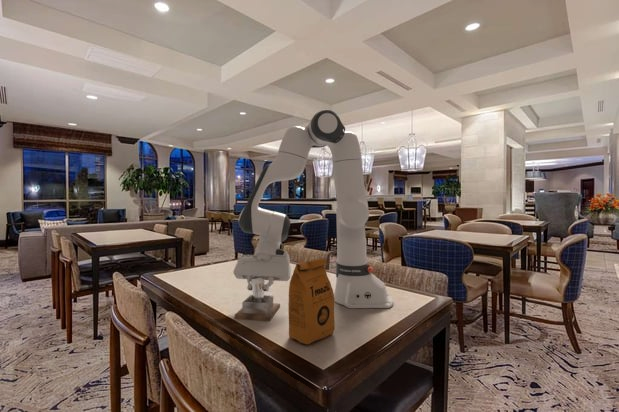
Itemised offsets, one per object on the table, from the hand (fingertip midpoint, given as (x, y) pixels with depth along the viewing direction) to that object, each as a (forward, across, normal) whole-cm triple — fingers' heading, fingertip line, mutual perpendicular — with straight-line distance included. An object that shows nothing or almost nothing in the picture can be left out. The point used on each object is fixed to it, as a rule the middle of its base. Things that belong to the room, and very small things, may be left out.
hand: (257, 290), depth 103 cm
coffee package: (+15, +21, -4) cm, 26 cm away
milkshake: (+4, 0, +4) cm, 6 cm away
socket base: (+5, 0, +6) cm, 8 cm away
